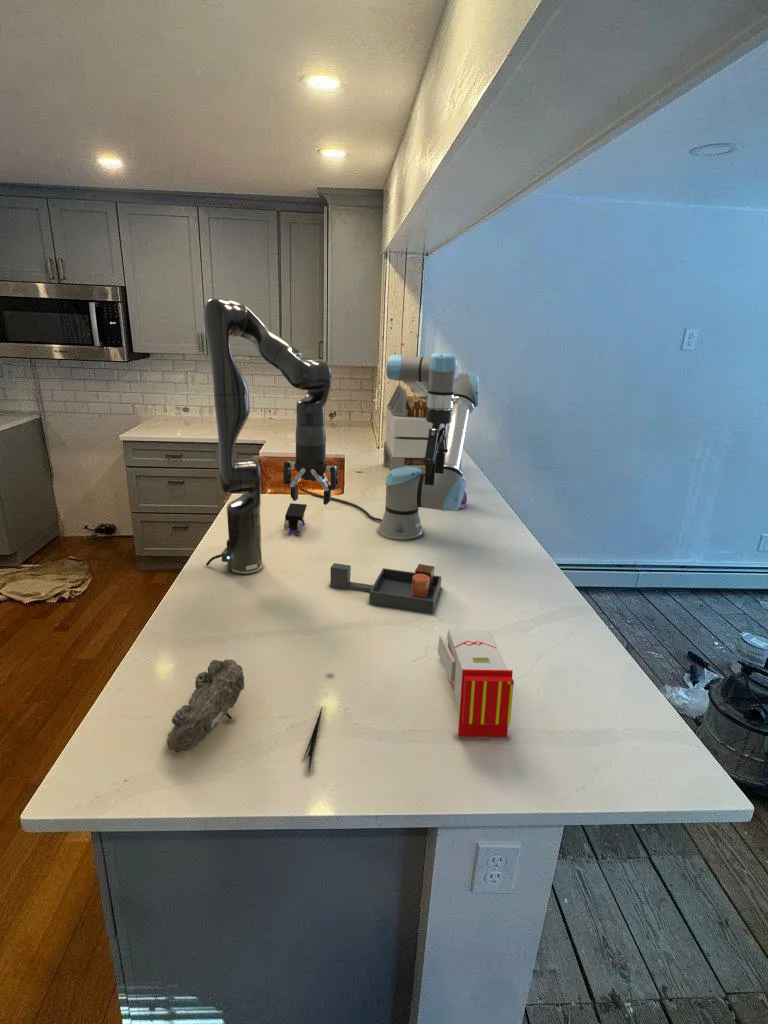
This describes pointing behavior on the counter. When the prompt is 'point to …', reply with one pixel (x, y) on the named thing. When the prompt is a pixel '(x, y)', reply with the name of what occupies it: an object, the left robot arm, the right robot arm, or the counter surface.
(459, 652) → the toy
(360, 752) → the counter surface
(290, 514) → the figurine character
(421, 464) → the white crate
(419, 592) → the terracotta cylinder
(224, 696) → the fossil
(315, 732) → the feather
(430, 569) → the walnut block
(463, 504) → the figurine
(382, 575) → the tray
